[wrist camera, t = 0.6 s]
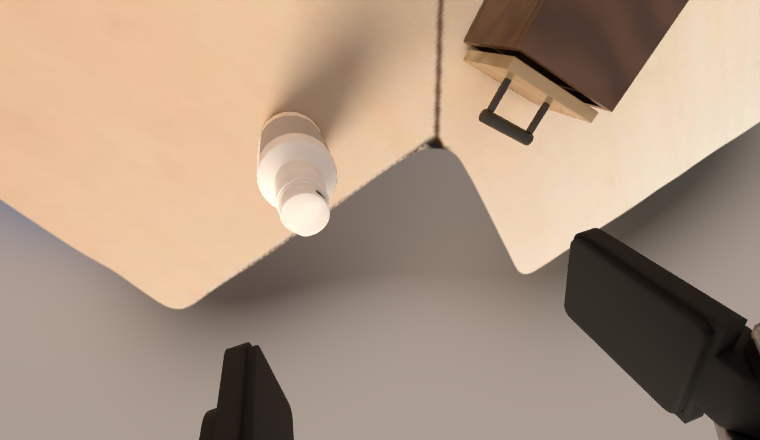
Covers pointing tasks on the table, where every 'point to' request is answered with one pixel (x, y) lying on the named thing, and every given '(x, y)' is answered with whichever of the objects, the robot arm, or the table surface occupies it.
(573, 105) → the drawer
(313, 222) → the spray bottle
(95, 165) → the table surface
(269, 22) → the table surface
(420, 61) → the table surface
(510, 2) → the cabinet
